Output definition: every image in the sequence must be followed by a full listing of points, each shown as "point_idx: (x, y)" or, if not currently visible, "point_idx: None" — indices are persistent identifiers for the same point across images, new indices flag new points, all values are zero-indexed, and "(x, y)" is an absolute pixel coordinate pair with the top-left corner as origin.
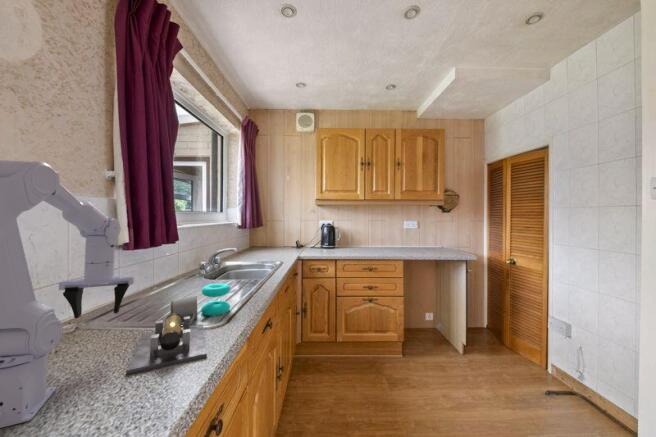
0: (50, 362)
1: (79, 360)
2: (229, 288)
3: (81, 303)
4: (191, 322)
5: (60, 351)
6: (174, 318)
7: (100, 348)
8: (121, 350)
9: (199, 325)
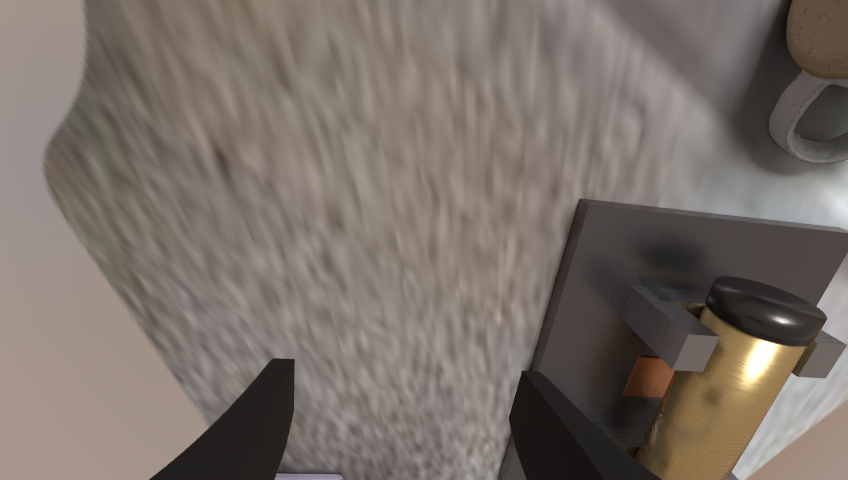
0: (249, 283)
1: (354, 320)
2: None
3: (257, 424)
4: (843, 139)
5: (241, 171)
6: (765, 406)
7: (412, 238)
8: (491, 307)
9: (835, 245)
